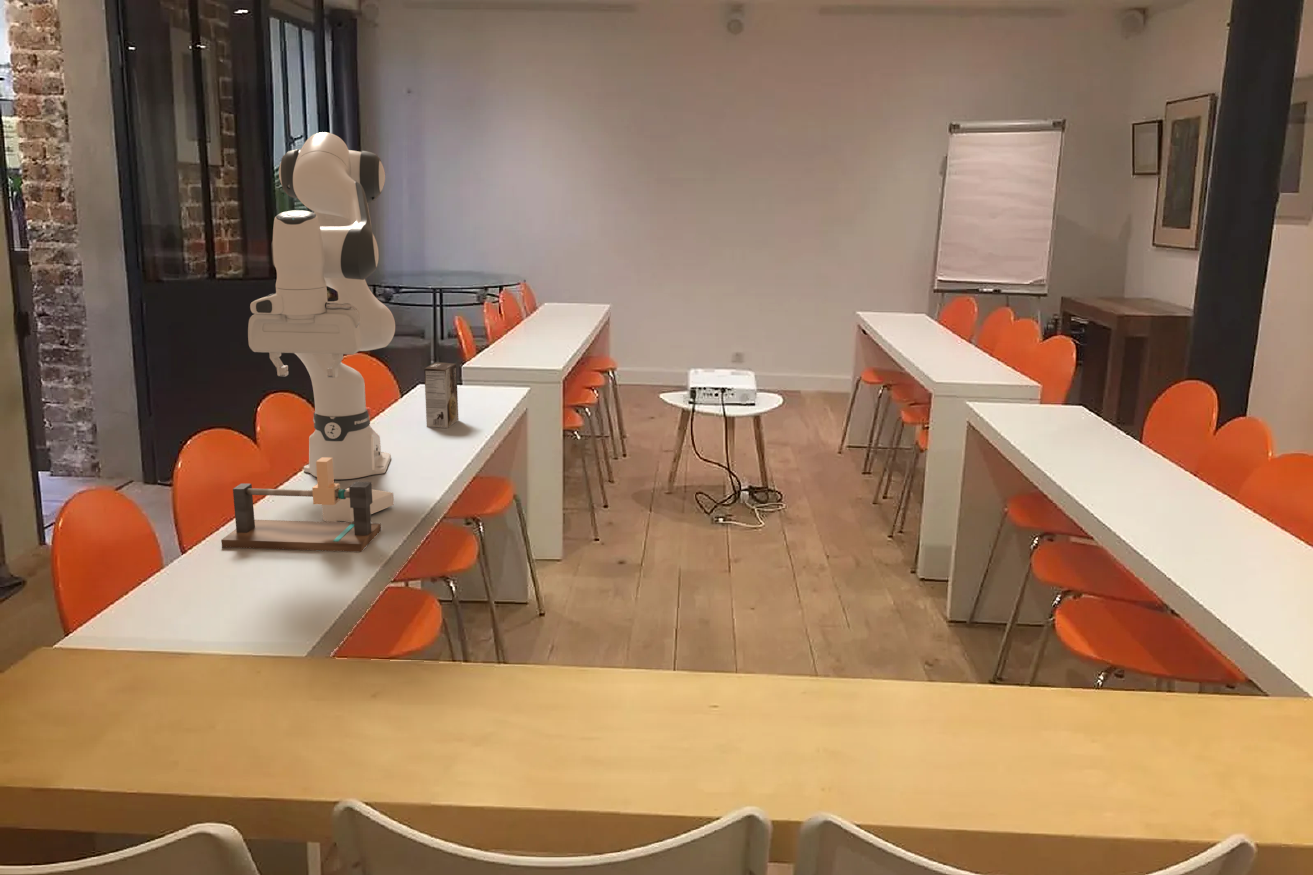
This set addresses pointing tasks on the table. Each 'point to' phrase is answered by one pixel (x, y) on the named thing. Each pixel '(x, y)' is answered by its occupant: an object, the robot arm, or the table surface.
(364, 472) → the robot arm
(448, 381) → the coffee box
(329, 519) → the bracket
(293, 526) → the linear slide rail
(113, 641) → the table surface
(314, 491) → the orange l-shaped block
